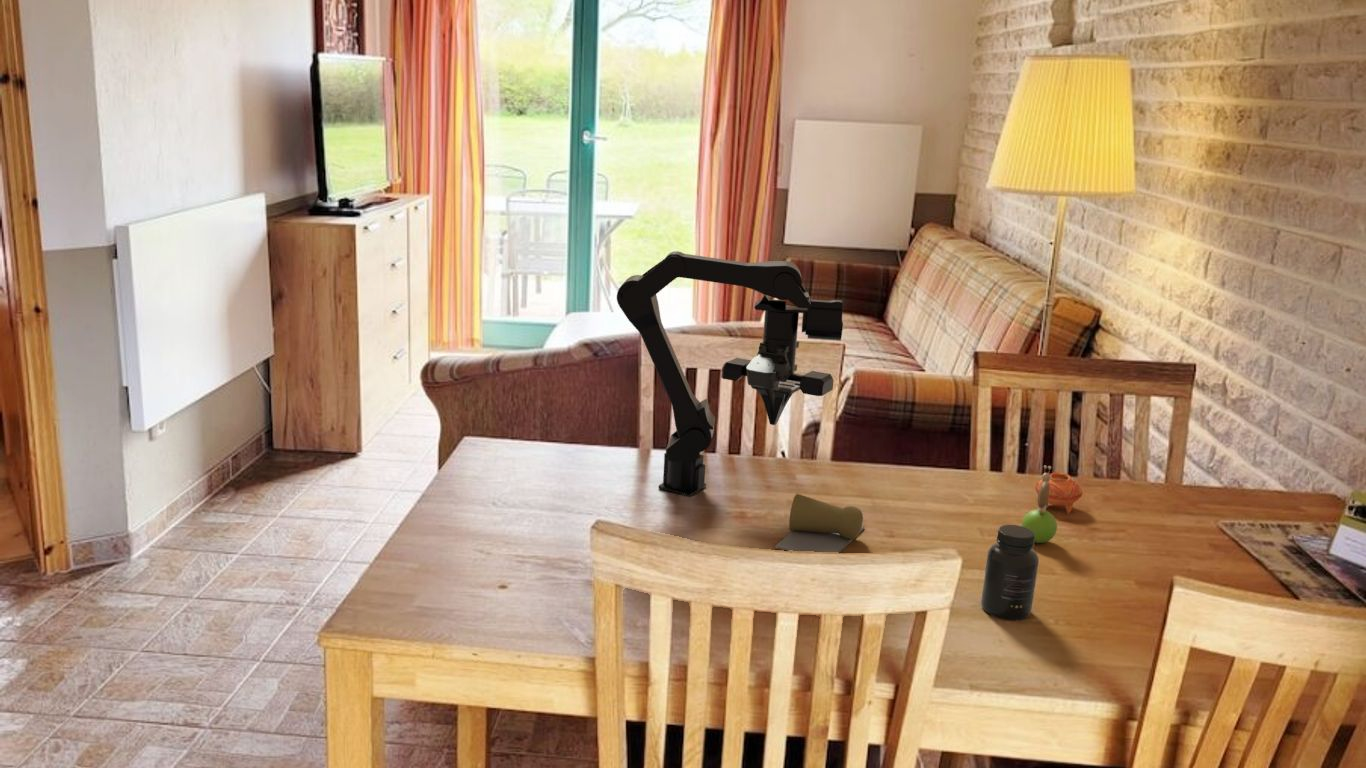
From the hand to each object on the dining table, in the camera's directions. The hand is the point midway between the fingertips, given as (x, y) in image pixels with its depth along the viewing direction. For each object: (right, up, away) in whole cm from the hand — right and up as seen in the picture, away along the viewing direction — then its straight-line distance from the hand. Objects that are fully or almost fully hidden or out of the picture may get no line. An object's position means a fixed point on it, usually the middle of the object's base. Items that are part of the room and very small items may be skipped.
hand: (773, 424), depth 186 cm
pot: (+51, -15, +5) cm, 53 cm away
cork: (+2, -14, -13) cm, 19 cm away
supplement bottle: (+30, -25, -36) cm, 53 cm away
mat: (+6, -18, -14) cm, 24 cm away
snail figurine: (+42, -19, -11) cm, 47 cm away
